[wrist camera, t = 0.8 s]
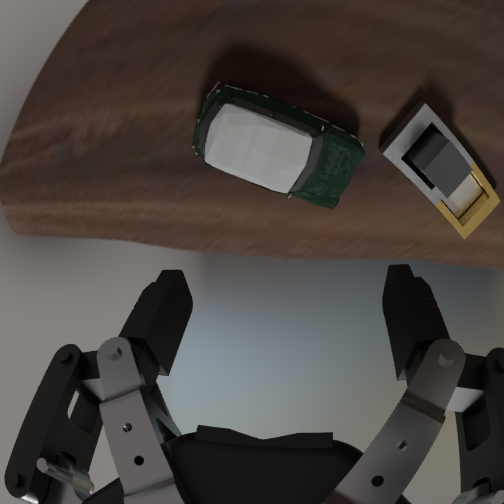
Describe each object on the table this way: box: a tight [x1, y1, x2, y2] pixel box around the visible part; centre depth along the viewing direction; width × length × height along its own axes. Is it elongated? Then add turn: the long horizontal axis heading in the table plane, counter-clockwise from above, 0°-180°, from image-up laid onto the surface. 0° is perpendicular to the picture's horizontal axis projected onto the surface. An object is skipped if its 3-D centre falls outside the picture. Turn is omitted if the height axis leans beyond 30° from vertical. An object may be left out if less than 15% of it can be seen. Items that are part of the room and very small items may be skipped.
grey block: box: [404, 127, 473, 199], centre depth 27 cm, size 5×5×6 cm
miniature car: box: [192, 82, 365, 209], centre depth 29 cm, size 9×18×8 cm, turn 69°
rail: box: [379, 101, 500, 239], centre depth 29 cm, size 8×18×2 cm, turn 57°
